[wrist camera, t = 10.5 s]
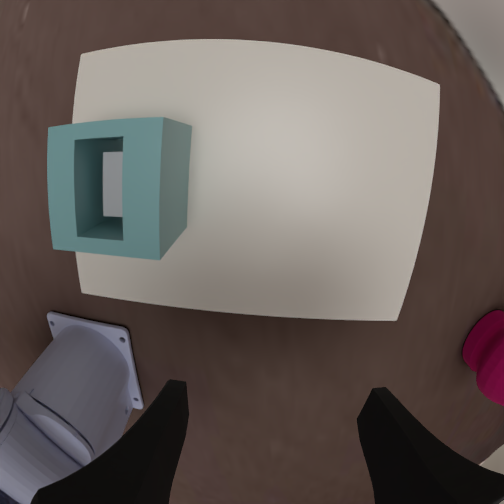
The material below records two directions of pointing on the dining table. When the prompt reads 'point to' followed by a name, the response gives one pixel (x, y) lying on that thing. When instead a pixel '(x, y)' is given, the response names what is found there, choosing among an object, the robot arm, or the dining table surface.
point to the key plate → (272, 176)
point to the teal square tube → (133, 186)
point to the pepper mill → (487, 355)
